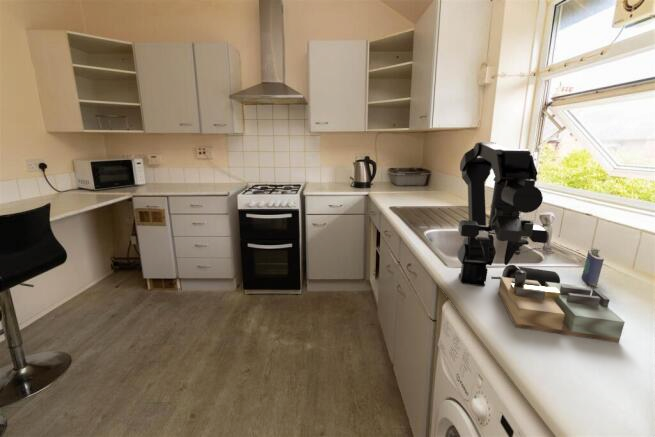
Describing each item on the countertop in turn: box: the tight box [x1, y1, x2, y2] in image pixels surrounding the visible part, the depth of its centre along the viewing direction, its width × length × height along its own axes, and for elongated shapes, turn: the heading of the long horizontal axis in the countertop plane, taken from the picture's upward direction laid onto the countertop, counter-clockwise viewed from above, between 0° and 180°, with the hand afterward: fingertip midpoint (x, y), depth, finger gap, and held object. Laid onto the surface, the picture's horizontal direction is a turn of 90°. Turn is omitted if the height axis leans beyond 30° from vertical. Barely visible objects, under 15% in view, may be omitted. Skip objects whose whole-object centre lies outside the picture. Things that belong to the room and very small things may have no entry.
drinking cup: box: [490, 264, 561, 287], centre depth 90 cm, size 8×8×20 cm
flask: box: [581, 247, 605, 288], centre depth 95 cm, size 9×3×11 cm, turn 151°
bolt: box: [510, 270, 560, 299], centre depth 77 cm, size 10×2×5 cm, turn 75°
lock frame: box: [497, 276, 626, 343], centre depth 77 cm, size 20×17×7 cm
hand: (495, 263), depth 79 cm, fingers open, 4 cm apart
